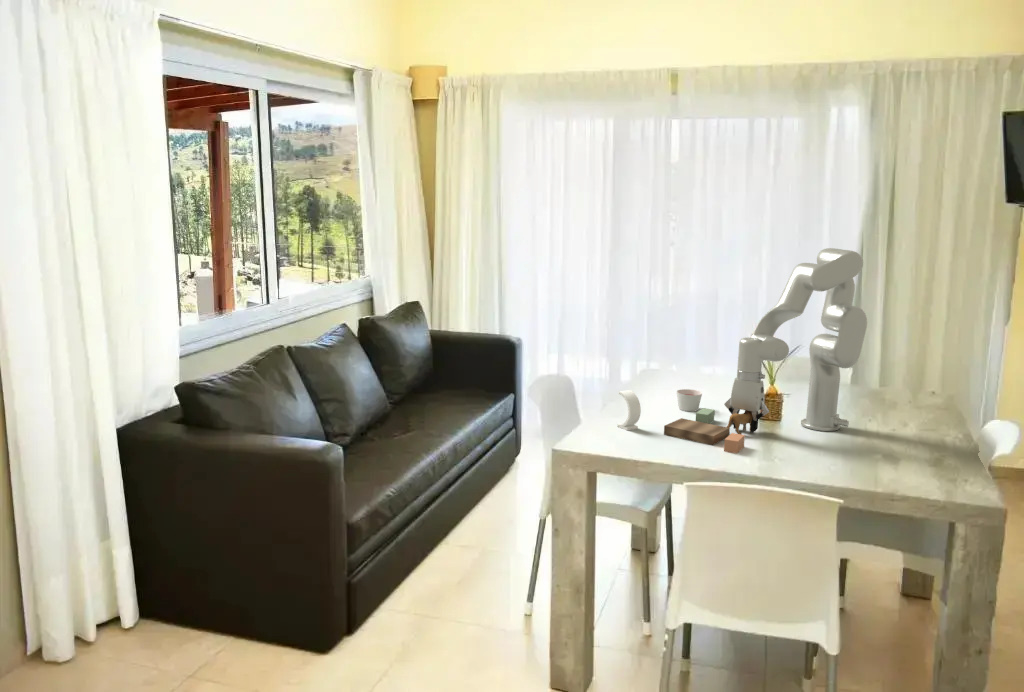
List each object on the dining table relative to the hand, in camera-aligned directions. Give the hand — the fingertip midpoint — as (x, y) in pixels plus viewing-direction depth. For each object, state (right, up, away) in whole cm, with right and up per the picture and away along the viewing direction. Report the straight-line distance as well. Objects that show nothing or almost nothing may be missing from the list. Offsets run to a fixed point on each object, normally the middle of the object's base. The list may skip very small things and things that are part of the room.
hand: (744, 429), depth 279 cm
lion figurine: (-1, -1, 0) cm, 2 cm away
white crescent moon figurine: (-38, 0, +2) cm, 38 cm away
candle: (-13, +4, +27) cm, 31 cm away
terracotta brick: (-8, -4, -18) cm, 21 cm away
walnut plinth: (-17, -2, -5) cm, 18 cm away
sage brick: (-11, +1, +11) cm, 15 cm away
